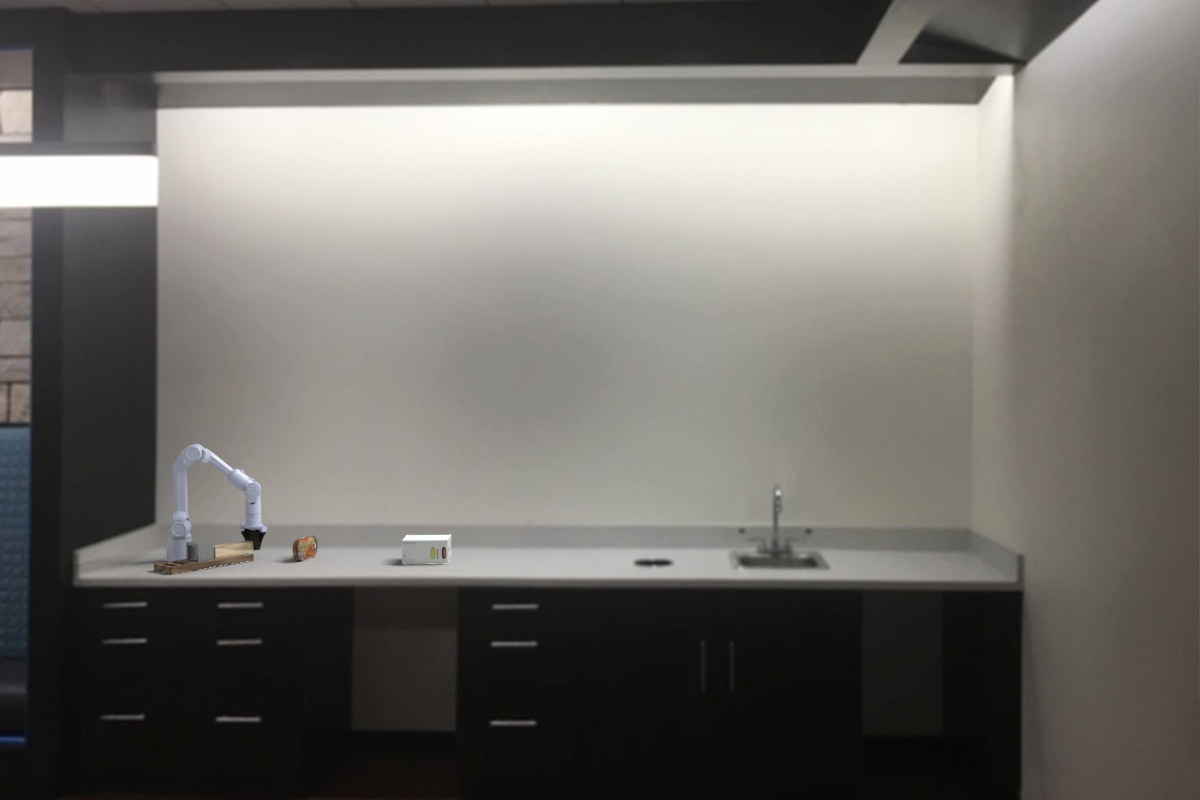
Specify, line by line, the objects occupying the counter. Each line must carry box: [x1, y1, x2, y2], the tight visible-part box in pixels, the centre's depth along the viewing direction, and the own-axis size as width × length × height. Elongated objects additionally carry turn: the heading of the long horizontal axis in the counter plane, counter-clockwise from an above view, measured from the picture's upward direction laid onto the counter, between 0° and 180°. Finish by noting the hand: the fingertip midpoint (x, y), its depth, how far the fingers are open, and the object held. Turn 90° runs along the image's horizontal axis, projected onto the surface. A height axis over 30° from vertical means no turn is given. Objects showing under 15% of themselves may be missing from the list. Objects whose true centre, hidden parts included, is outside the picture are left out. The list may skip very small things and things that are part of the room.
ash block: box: [214, 540, 255, 558], centre depth 363 cm, size 4×16×4 cm, turn 143°
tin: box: [292, 534, 319, 562], centre depth 368 cm, size 15×3×8 cm, turn 168°
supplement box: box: [401, 534, 452, 565], centre depth 361 cm, size 17×13×9 cm
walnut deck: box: [153, 552, 255, 575], centre depth 355 cm, size 12×32×3 cm, turn 143°
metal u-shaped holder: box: [186, 539, 215, 562], centre depth 353 cm, size 8×6×6 cm
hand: (253, 549), depth 371 cm, fingers closed on ash block, 4 cm apart
